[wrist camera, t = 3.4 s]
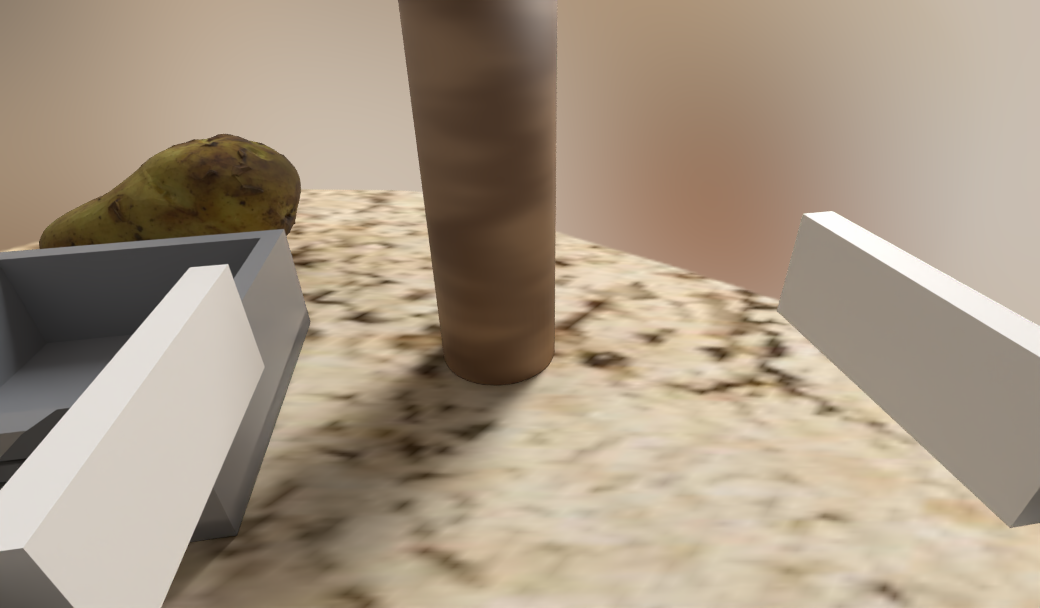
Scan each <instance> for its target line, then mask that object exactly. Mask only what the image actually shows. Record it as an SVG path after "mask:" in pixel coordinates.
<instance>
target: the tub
mask: <svg viewBox="0 0 1040 608" xmlns="http://www.w3.org/2000/svg"><path fill="white" fill-rule="evenodd" d="M224 264H228V265H229V268H230V271H231V274H232V276H233V279H234V282H235V285H236V288H237V290H238V293H239V296H240V299H241V302H242V305H243V307H244V310H245V313H246V316H247V319H248V321H249V324H250V327H251V330H252V333H253V335H254V338H255V341H256V344H257V347H258V349H259V352H260V355H261V358H262V361H263V363H264V366H265V368H264V370H263V372H262V375H261V377H260V379H259V381H258V384H257V386H256V388H255V391H254V393H253V395H252V398H251V400H250V402H249V405H248V407H247V409H246V412H245V414H244V416H243V419H242V421H241V423H240V426H239V428H238V430H237V433H236V435H235V437H234V440H233V442H232V444H231V447H230V449H229V451H228V453H227V456H226V458H225V460H224V463H223V465H222V467H221V470H220V472H219V474H218V477H217V479H216V481H215V484H214V486H213V488H212V491H211V493H210V495H209V498H208V500H207V502H206V505H205V507H204V509H203V512H202V514H201V516H200V518H199V521H198V523H197V525H196V528H195V530H194V532H193V535H192V537H191V539H190V542H194V541H200V540H207V539H214V538H221V537H228V536H235V535H237V533H238V530H239V527H240V525H241V522H242V519H243V516H244V513H245V510H246V507H247V504H248V501H249V499H250V496H251V493H252V490H253V487H254V484H255V481H256V478H257V475H258V473H259V470H260V467H261V464H262V461H263V458H264V455H265V452H266V449H267V446H268V444H269V441H270V438H271V435H272V432H273V429H274V426H275V423H276V420H277V418H278V415H279V412H280V409H281V406H282V403H283V400H284V397H285V394H286V391H287V389H288V386H289V383H290V380H291V377H292V374H293V371H294V368H295V365H296V363H297V360H298V357H299V354H300V351H301V348H302V345H303V342H304V339H305V337H306V334H307V331H308V328H309V325H310V319H309V315H308V311H307V308H306V304H305V301H304V297H303V294H302V290H301V287H300V283H299V280H298V276H297V273H296V269H295V266H294V262H293V258H292V255H291V251H290V248H289V244H288V241H287V237H286V234H285V230H284V229H278V230H266V231H254V232H241V233H229V234H217V235H205V236H193V237H181V238H169V239H157V240H145V241H133V242H120V243H108V244H96V245H84V246H72V247H60V248H48V249H36V250H24V251H12V252H0V457H1V456H2V455H3V454H4V453H5V452H6V451H7V450H8V449H9V448H10V446H11V445H12V444H13V443H14V442H15V441H16V440H17V439H18V438H19V437H20V435H21V434H23V433H24V432H25V431H27V430H28V429H30V428H31V427H33V426H34V425H35V424H37V423H38V422H40V421H41V420H42V419H44V418H45V417H47V416H48V415H49V414H51V413H52V412H54V411H55V410H57V409H64V408H71V407H72V405H73V404H74V403H75V402H76V401H77V400H78V398H79V397H80V396H81V395H82V394H83V392H84V391H85V390H86V389H87V388H88V387H89V385H90V384H91V383H92V382H93V381H94V380H95V378H96V377H97V376H98V375H99V374H100V372H101V371H102V370H103V369H104V368H105V367H106V365H107V364H108V363H109V362H110V361H111V360H112V358H113V357H114V356H115V355H116V354H117V352H118V351H119V350H120V349H121V348H122V347H123V345H124V344H125V343H126V342H127V341H128V340H129V338H130V337H131V336H132V335H133V334H134V333H135V331H136V330H137V329H138V328H139V327H140V325H141V324H142V323H143V322H144V321H145V320H146V318H147V317H148V316H149V315H150V314H151V313H152V311H153V310H154V309H155V308H156V307H157V305H158V304H159V303H160V302H161V301H162V300H163V298H164V297H165V296H166V295H167V294H168V293H169V291H170V290H171V289H172V288H173V287H174V285H175V284H176V283H177V282H178V281H179V280H180V278H181V277H182V276H183V275H184V274H185V273H186V271H187V270H188V269H189V268H190V267H201V266H212V265H224Z"/></svg>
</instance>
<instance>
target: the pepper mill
mask: <svg viewBox="0 0 1040 608" xmlns="http://www.w3.org/2000/svg"><path fill="white" fill-rule="evenodd" d="M398 3H399V11H400V19H401V25H402V34H403V41H404V50H405V57H406V65H407V72H408V81H409V88H410V96H411V104H412V112H413V119H414V127H415V135H416V142H417V150H418V158H419V166H420V174H421V181H422V189H423V197H424V205H425V213H426V220H427V228H428V236H429V244H430V251H431V259H432V267H433V275H434V282H435V290H436V298H437V306H438V313H439V321H440V329H441V337H442V344H443V352H444V359H445V362H446V364H447V366H448V367H449V368H450V370H451V371H452V372H454V373H455V374H456V375H458V376H459V377H461V378H463V379H466V380H468V381H471V382H475V383H479V384H486V385H504V384H512V383H516V382H520V381H523V380H526V379H529V378H531V377H533V376H535V375H537V374H538V373H540V372H541V371H543V370H544V369H545V368H546V367H547V366H548V365H549V363H550V362H551V360H552V358H553V356H554V343H555V220H556V218H555V217H556V206H555V205H556V94H557V92H556V89H557V83H556V82H557V0H398Z"/></svg>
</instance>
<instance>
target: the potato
mask: <svg viewBox="0 0 1040 608" xmlns="http://www.w3.org/2000/svg"><path fill="white" fill-rule="evenodd" d="M300 193H301V184H300V178H299V175H298V173H297V170H296V169H295V167H294V166H293V165H292V164H291V163H290V161H289V160H288V159H287V158H286V157H285V156H284V155H282V154H279V153H278V152H277V151H275V150H274V149H272V148H270V147H268V146H266V145H264V144H262V143H258V142H253V141H248V140H246V139H244V138H241V137H239V136H233V135H229V134H219V135H216V136H214V137H211V138H208V139H201V140H195V139H194V140H191V141H189V142H186V143H182V144H177V145H173V146H172V147H170V148H168V149H166V150H164V151H162V152H160V153H158V154H156V155H154V156H153V157H151V158H149V160H147V161H146V162H145V163H144V164H142V165H141V167H140V168H139V169H138V170H137V171H135V172H134V173H133V174H132V175H131V176H129V177H128V178H127V179H126V180H124V181H123V182H122V183H120V184H119V185H118V186H116V187H115V188H114V189H112V190H111V191H110V192H108V193H106V194H105V195H103V196H101V197H98V198H96V199H93V200H91V201H89V202H87V203H85V204H83V205H81V206H79V207H77V208H75V209H73V210H71V211H69V212H68V213H66V214H64V215H63V216H61V217H59V218H58V219H56V220H55V221H54V222H53V223H51V224H50V225H49V226H48V227H47V228H46V229H45V230H44V232H43V234H42V236H41V239H40V241H39V247H40V249H48V248H60V247H72V246H84V245H96V244H108V243H120V242H133V241H145V240H157V239H169V238H181V237H193V236H205V235H217V234H229V233H241V232H254V231H266V230H278V229H284V230H285V234H286V236H287V235H288V234H289V233H290V230H291V228H292V226H293V224H295V219H296V213H297V207H298V204H299V199H300Z"/></svg>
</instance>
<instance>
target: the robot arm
mask: <svg viewBox="0 0 1040 608" xmlns="http://www.w3.org/2000/svg"><path fill="white" fill-rule="evenodd" d="M777 312H778V313H780V314H781V315H782V316H783V317H784V318H785V319H786V320H787V321H788V322H789V323H790V324H791V325H792V326H794V327H795V328H796V329H797V330H798V331H799V332H800V333H801V334H802V335H803V336H804V337H805V338H806V339H807V340H809V341H810V342H811V343H812V344H813V345H814V346H815V347H816V348H817V349H818V350H819V351H820V352H821V353H823V354H824V355H825V356H826V357H827V358H828V359H829V360H830V361H831V362H832V363H833V364H834V365H835V366H837V367H838V368H839V369H840V370H841V371H842V372H843V373H844V374H845V375H846V376H847V377H848V378H849V379H851V380H852V381H853V382H854V383H855V384H856V385H857V386H858V387H859V388H860V389H861V390H862V391H863V392H864V393H866V394H867V395H868V396H869V397H870V398H871V399H872V400H873V401H874V402H875V403H876V404H877V405H878V406H880V407H881V408H882V409H883V410H884V411H885V412H886V413H887V414H888V415H889V416H890V417H891V418H892V419H894V420H895V421H896V422H897V423H898V424H899V425H900V426H901V427H902V428H903V429H904V430H905V431H906V432H907V433H909V434H910V435H911V436H912V437H913V438H914V439H915V440H916V441H917V442H918V443H919V444H920V445H921V446H923V447H924V448H925V449H926V450H927V451H928V452H929V453H930V454H931V455H932V456H933V457H934V458H935V459H937V460H938V461H939V462H940V463H941V464H942V465H943V466H944V467H945V468H946V469H947V470H948V471H949V472H951V473H952V474H953V475H954V476H955V477H956V478H957V479H958V480H959V481H960V482H961V483H962V484H963V485H964V486H966V487H967V488H968V489H969V490H970V491H971V492H972V493H973V494H974V495H975V496H976V497H977V498H978V499H980V500H981V501H982V502H983V503H984V504H985V505H986V506H987V507H988V508H989V509H990V510H991V511H992V512H994V513H995V514H996V515H997V516H998V517H999V518H1000V519H1001V520H1002V521H1003V522H1004V523H1005V524H1006V525H1008V526H1009V527H1010V528H1012V527H1018V526H1024V525H1030V524H1036V523H1040V326H1038V325H1037V324H1035V323H1033V322H1031V321H1029V320H1028V319H1026V318H1024V317H1022V316H1020V315H1019V314H1017V313H1015V312H1013V311H1011V310H1010V309H1008V308H1006V307H1004V306H1002V305H1000V304H999V303H997V302H995V301H993V300H992V299H990V298H988V297H986V296H984V295H983V294H981V293H979V292H977V291H975V290H974V289H972V288H970V287H968V286H966V285H964V284H963V283H961V282H959V281H957V280H955V279H954V278H952V277H950V276H948V275H946V274H945V273H943V272H941V271H939V270H937V269H936V268H934V267H932V266H930V265H928V264H927V263H925V262H923V261H921V260H919V259H918V258H916V257H914V256H912V255H910V254H909V253H907V252H905V251H903V250H901V249H900V248H898V247H896V246H894V245H892V244H890V243H889V242H887V241H885V240H883V239H882V238H880V237H878V236H876V235H874V234H873V233H871V232H869V231H867V230H865V229H864V228H861V227H860V226H858V225H856V224H854V223H853V222H851V221H849V220H847V219H845V218H844V217H842V216H840V215H838V214H837V213H834V212H833V211H830V212H818V213H806V214H803V216H802V219H801V223H800V227H799V231H798V234H797V238H796V242H795V246H794V249H793V253H792V257H791V260H790V264H789V268H788V271H787V276H786V279H785V283H784V286H783V290H782V294H781V297H780V301H779V305H778V309H777ZM264 368H265V366H264V363H263V361H262V358H261V355H260V352H259V349H258V347H257V344H256V341H255V338H254V335H253V333H252V330H251V327H250V324H249V321H248V319H247V316H246V313H245V310H244V307H243V305H242V302H241V299H240V296H239V293H238V290H237V288H236V285H235V282H234V279H233V276H232V274H231V271H230V268H229V265H228V264H224V265H212V266H201V267H190V268H189V269H188V270H187V271H186V273H185V274H184V275H183V276H182V277H181V278H180V280H179V281H178V282H177V283H176V284H175V285H174V287H173V288H172V289H171V290H170V291H169V293H168V294H167V295H166V296H165V297H164V298H163V300H162V301H161V302H160V303H159V304H158V305H157V307H156V308H155V309H154V310H153V311H152V313H151V314H150V315H149V316H148V317H147V318H146V320H145V321H144V322H143V323H142V324H141V325H140V327H139V328H138V329H137V330H136V331H135V333H134V334H133V335H132V336H131V337H130V338H129V340H128V341H127V342H126V343H125V344H124V345H123V347H122V348H121V349H120V350H119V351H118V352H117V354H116V355H115V356H114V357H113V358H112V360H111V361H110V362H109V363H108V364H107V365H106V367H105V368H104V369H103V370H102V371H101V372H100V374H99V375H98V376H97V377H96V378H95V380H94V381H93V382H92V383H91V384H90V385H89V387H88V388H87V389H86V390H85V391H84V392H83V394H82V395H81V396H80V397H79V398H78V400H77V401H76V402H75V403H74V404H73V405H72V407H71V408H64V409H57V410H55V411H54V412H52V413H51V414H49V415H48V416H47V417H45V418H44V419H42V420H41V421H40V422H38V423H37V424H35V425H34V426H33V427H31V428H30V429H28V430H27V431H25V432H24V433H23V434H21V435H20V437H19V438H18V439H17V440H16V441H15V442H14V443H13V444H12V445H11V446H10V448H9V449H8V450H7V451H6V452H5V453H4V454H3V455H2V456H1V457H0V608H161V607H162V604H163V602H164V600H165V597H166V595H167V593H168V590H169V588H170V586H171V583H172V581H173V579H174V577H175V574H176V572H177V570H178V567H179V565H180V563H181V560H182V558H183V556H184V553H185V551H186V549H187V546H188V544H189V542H190V539H191V537H192V535H193V532H194V530H195V528H196V525H197V523H198V521H199V518H200V516H201V514H202V512H203V509H204V507H205V505H206V502H207V500H208V498H209V495H210V493H211V491H212V488H213V486H214V484H215V481H216V479H217V477H218V474H219V472H220V470H221V467H222V465H223V463H224V460H225V458H226V456H227V453H228V451H229V449H230V447H231V444H232V442H233V440H234V437H235V435H236V433H237V430H238V428H239V426H240V423H241V421H242V419H243V416H244V414H245V412H246V409H247V407H248V405H249V402H250V400H251V398H252V395H253V393H254V391H255V388H256V386H257V384H258V381H259V379H260V377H261V375H262V372H263V370H264Z"/></svg>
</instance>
